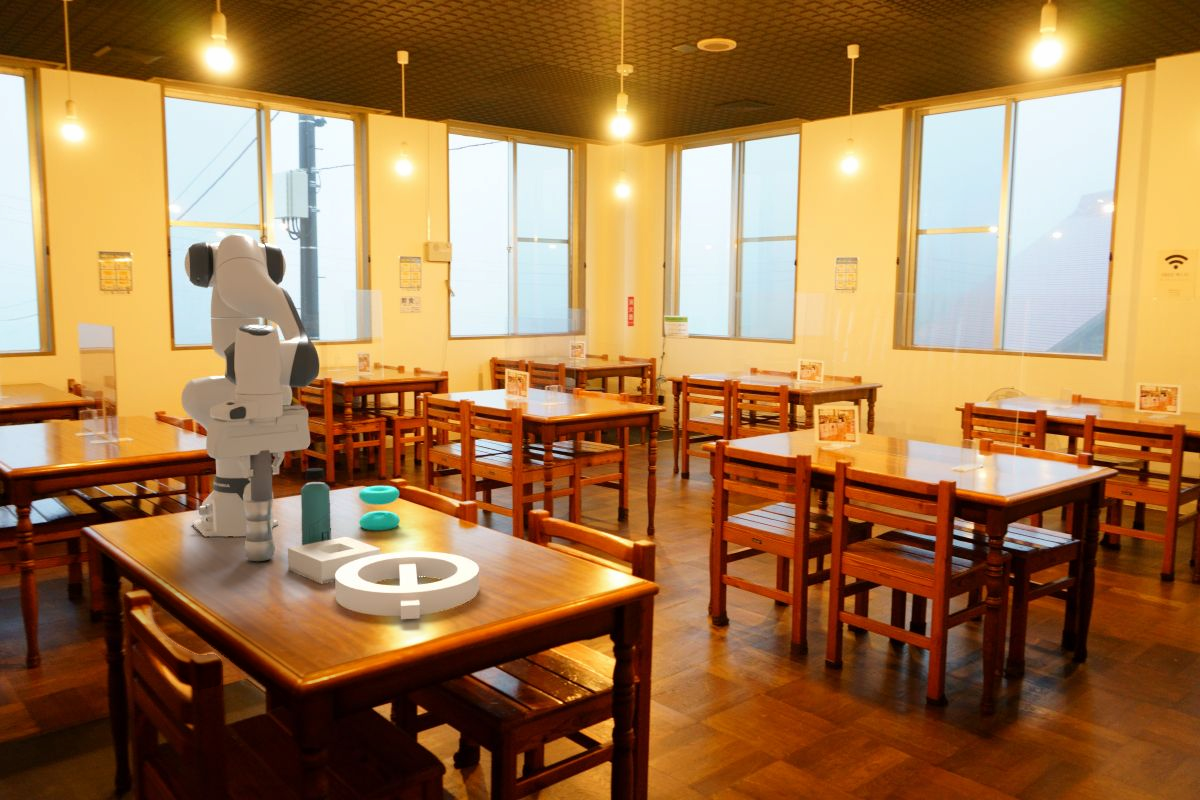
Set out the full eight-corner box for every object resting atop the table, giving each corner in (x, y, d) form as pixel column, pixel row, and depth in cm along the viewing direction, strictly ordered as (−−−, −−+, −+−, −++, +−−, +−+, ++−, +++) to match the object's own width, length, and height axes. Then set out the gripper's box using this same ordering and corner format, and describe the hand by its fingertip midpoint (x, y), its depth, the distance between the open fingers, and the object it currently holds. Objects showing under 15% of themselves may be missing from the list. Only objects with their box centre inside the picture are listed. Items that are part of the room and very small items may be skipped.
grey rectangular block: (247, 498, 182) (246, 449, 181) (266, 495, 185) (265, 447, 184) (256, 501, 180) (255, 451, 178) (275, 498, 182) (274, 449, 181)
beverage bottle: (322, 560, 203) (321, 472, 201) (295, 558, 204) (293, 470, 202) (337, 552, 209) (335, 466, 207) (310, 550, 211) (309, 465, 209)
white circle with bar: (410, 628, 163) (410, 602, 163) (304, 599, 178) (304, 575, 177) (506, 588, 187) (507, 565, 186) (406, 565, 201) (406, 544, 201)
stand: (288, 569, 196) (287, 548, 195) (346, 557, 206) (346, 536, 205) (322, 584, 186) (321, 561, 185) (381, 570, 196) (380, 548, 196)
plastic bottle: (246, 566, 198) (243, 475, 196) (242, 558, 204) (240, 469, 202) (277, 562, 201) (275, 473, 199) (272, 554, 207) (270, 467, 205)
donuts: (406, 489, 232) (371, 494, 226) (406, 527, 233) (371, 533, 227) (387, 483, 240) (352, 487, 233) (387, 520, 241) (352, 526, 234)
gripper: (300, 402, 190) (301, 467, 192) (201, 409, 175) (203, 480, 177) (315, 404, 186) (316, 471, 187) (215, 412, 171) (217, 485, 172)
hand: (261, 476), depth 182 cm, fingers closed on grey rectangular block, 4 cm apart
